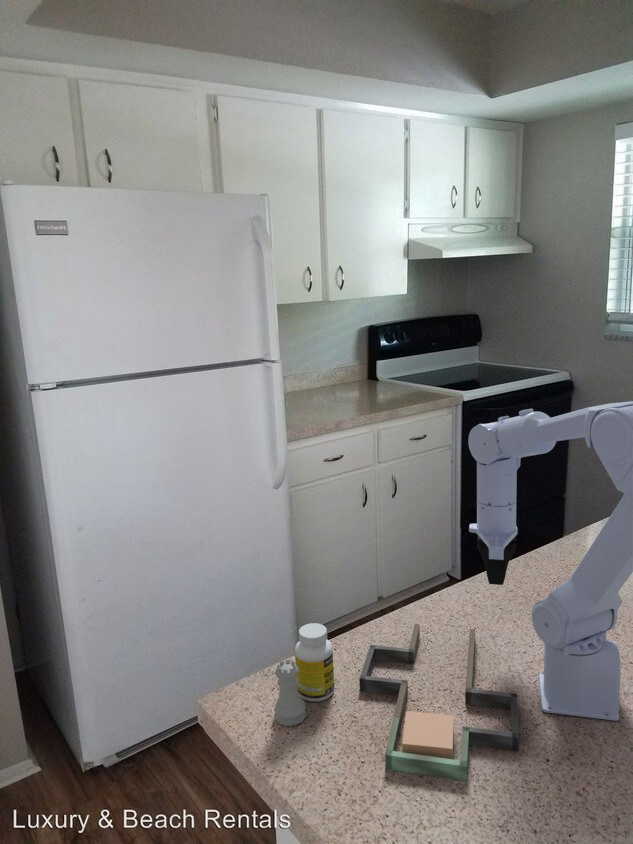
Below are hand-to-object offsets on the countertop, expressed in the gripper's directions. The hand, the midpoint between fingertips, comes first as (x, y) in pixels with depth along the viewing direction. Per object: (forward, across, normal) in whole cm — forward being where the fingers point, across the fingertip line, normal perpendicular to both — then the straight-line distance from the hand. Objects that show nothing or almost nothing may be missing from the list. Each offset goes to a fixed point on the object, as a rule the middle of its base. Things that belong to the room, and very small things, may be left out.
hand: (496, 582), depth 100 cm
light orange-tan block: (+11, +25, -8) cm, 29 cm away
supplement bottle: (+11, +17, -25) cm, 32 cm away
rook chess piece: (+11, +23, -27) cm, 37 cm away
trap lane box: (+10, +14, -8) cm, 19 cm away
